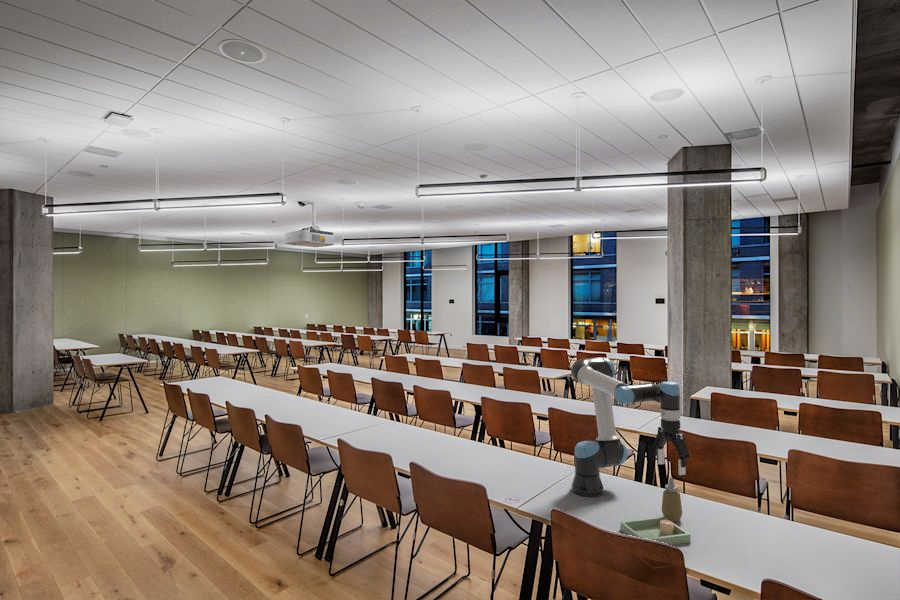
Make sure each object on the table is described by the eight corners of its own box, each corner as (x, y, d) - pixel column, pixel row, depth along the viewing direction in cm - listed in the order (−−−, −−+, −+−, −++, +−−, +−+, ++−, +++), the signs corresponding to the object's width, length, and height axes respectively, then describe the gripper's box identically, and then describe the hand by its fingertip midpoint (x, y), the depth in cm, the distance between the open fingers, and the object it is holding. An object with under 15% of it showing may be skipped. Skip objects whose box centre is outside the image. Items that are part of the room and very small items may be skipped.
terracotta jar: (657, 531, 198) (657, 520, 198) (668, 530, 199) (668, 519, 199) (665, 537, 193) (665, 526, 193) (676, 536, 194) (676, 524, 194)
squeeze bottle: (670, 525, 204) (669, 482, 204) (657, 517, 212) (656, 475, 212) (686, 523, 206) (686, 480, 206) (673, 515, 214) (672, 473, 214)
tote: (620, 530, 201) (620, 521, 201) (664, 524, 205) (663, 516, 205) (644, 549, 185) (643, 540, 185) (690, 543, 189) (690, 534, 189)
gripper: (644, 413, 220) (645, 460, 220) (682, 426, 196) (683, 480, 196) (659, 412, 222) (660, 459, 222) (698, 425, 198) (699, 478, 197)
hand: (671, 469), depth 209 cm, fingers open, 13 cm apart
